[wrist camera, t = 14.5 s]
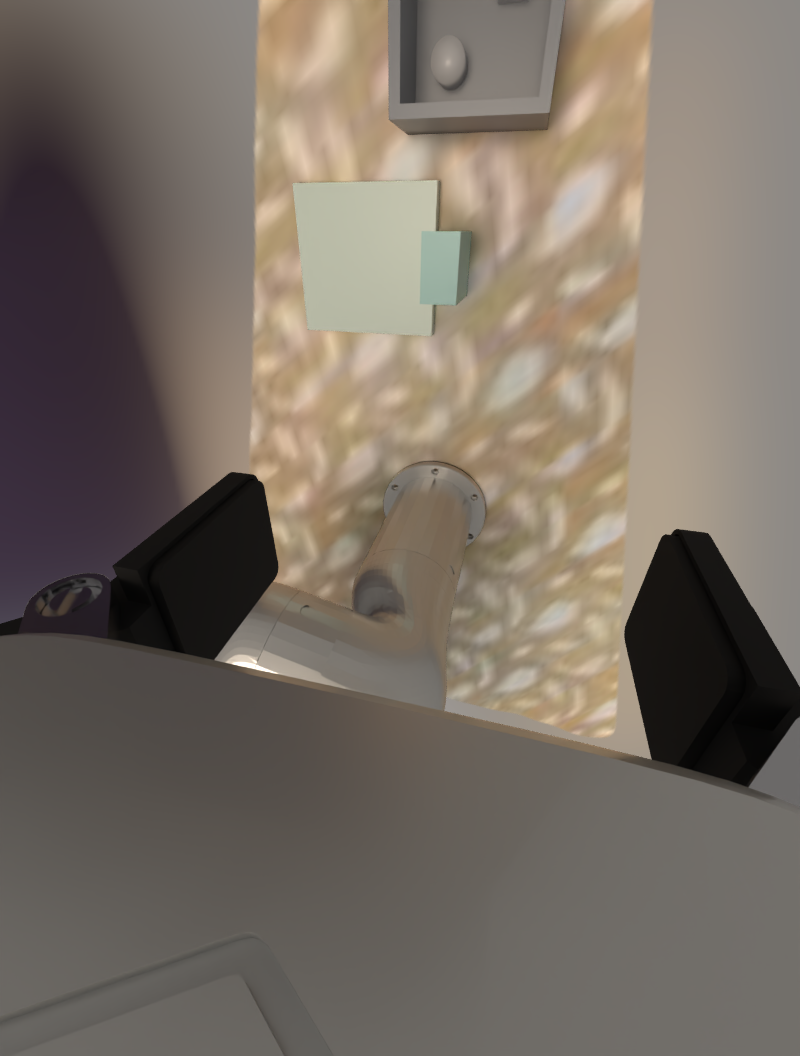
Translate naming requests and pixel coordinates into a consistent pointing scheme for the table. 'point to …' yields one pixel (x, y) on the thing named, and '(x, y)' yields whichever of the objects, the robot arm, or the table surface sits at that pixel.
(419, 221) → the board with teal handle
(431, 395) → the table surface
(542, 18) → the tub
